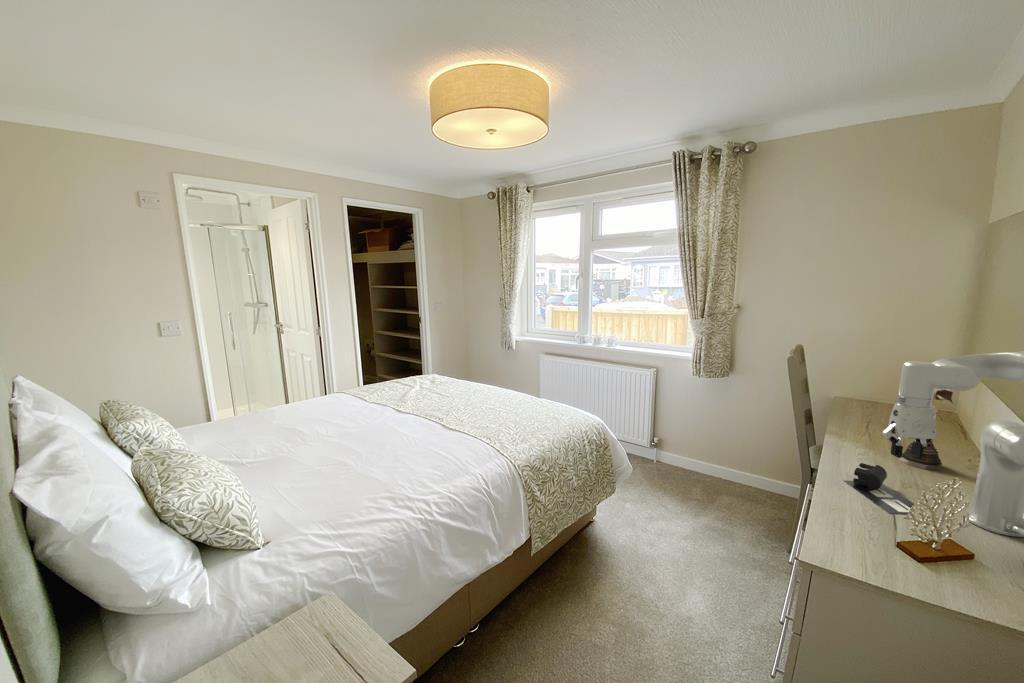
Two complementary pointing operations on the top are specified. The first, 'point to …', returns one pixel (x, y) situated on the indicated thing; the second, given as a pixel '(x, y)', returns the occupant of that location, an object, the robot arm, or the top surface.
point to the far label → (880, 493)
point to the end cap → (869, 477)
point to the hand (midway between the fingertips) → (906, 455)
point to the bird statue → (929, 452)
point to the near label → (897, 505)
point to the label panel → (881, 503)
